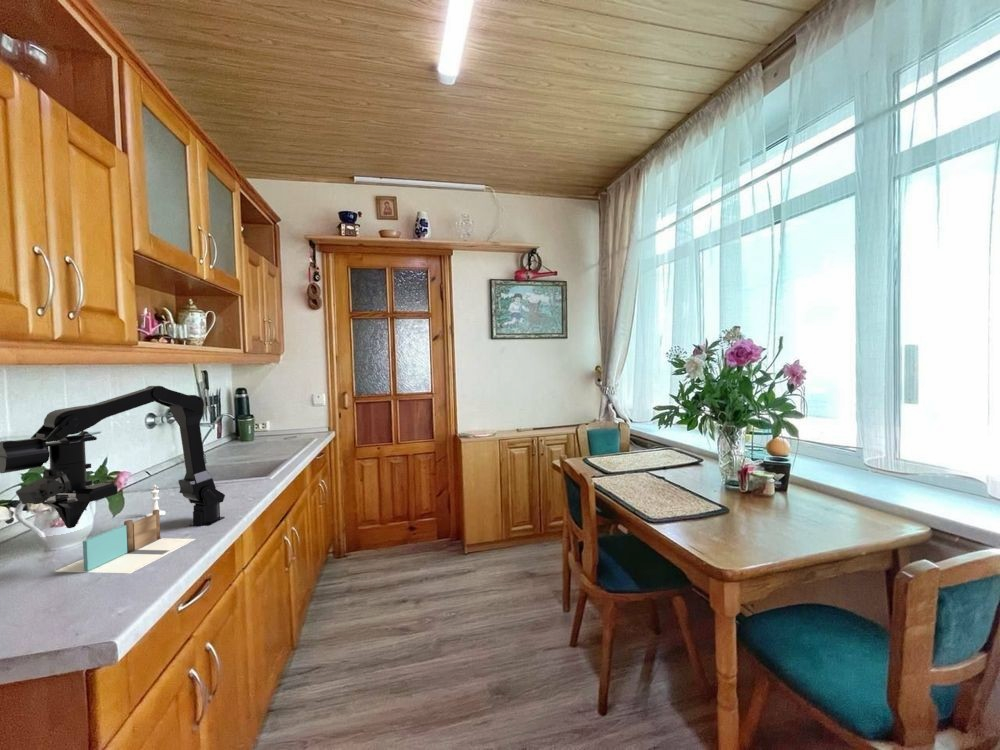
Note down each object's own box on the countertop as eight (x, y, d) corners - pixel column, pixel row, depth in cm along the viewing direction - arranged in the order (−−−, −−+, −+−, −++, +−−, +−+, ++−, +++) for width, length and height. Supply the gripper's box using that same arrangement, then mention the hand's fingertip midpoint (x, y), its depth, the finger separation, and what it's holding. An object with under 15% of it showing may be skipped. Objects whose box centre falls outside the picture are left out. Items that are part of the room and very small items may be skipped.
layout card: (131, 539, 110) (131, 537, 110) (196, 540, 108) (195, 538, 108) (54, 573, 92) (54, 571, 92) (130, 575, 90) (130, 572, 90)
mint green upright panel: (123, 552, 100) (122, 525, 100) (127, 552, 100) (126, 525, 100) (83, 570, 91) (82, 541, 91) (87, 571, 91) (86, 541, 91)
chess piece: (149, 514, 129) (148, 483, 128) (168, 511, 130) (167, 482, 130) (142, 519, 124) (141, 488, 124) (161, 517, 126) (160, 486, 126)
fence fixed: (156, 537, 109) (155, 509, 109) (162, 537, 109) (160, 509, 109) (123, 553, 100) (122, 522, 100) (129, 553, 100) (128, 522, 100)
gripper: (-15, 471, 86) (-11, 542, 86) (64, 471, 84) (67, 543, 85) (47, 459, 97) (50, 522, 97) (118, 459, 95) (121, 522, 96)
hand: (71, 527), depth 93 cm, fingers closed
